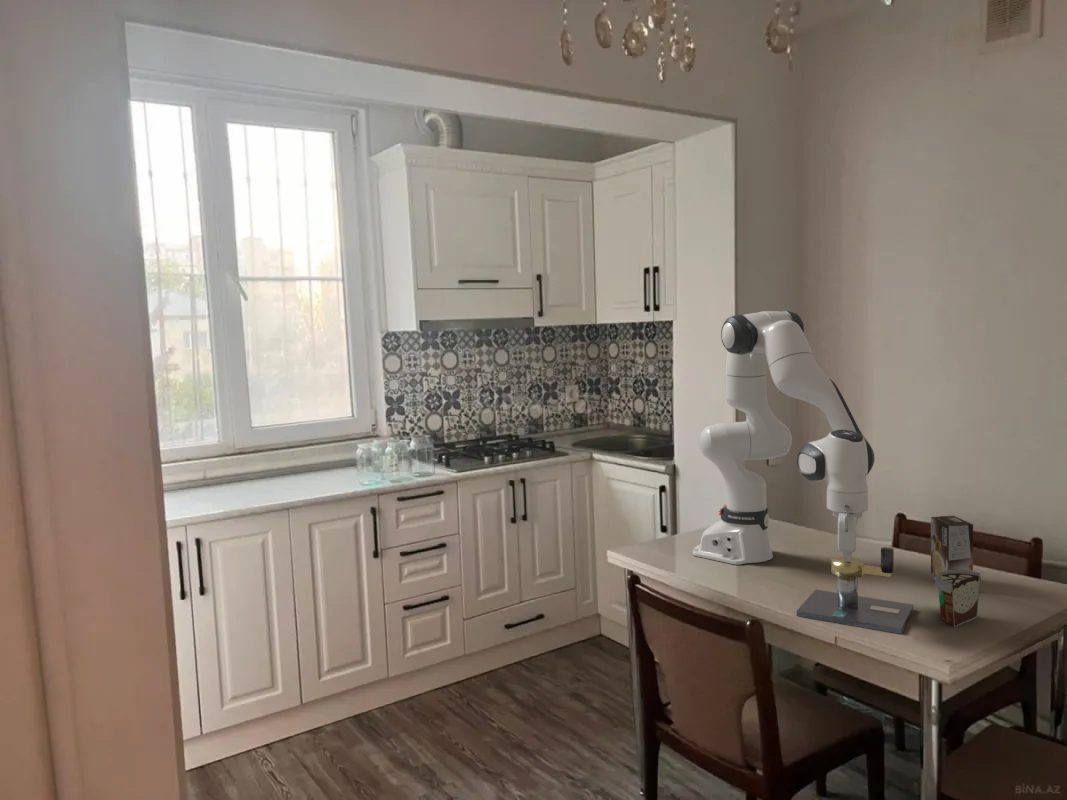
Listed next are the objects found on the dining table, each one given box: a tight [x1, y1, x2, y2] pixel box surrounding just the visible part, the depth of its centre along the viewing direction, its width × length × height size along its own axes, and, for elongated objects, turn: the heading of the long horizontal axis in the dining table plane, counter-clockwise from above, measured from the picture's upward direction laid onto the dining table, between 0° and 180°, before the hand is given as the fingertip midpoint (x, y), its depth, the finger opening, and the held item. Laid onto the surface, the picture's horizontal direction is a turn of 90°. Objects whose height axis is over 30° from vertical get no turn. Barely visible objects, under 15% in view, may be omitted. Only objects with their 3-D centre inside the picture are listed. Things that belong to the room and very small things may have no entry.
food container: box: [934, 570, 982, 628], centre depth 173 cm, size 12×6×10 cm, turn 123°
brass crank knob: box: [830, 546, 895, 578], centre depth 178 cm, size 13×7×7 cm, turn 55°
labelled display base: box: [796, 576, 915, 635], centre depth 178 cm, size 22×16×8 cm
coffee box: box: [930, 515, 974, 582], centre depth 195 cm, size 9×6×16 cm
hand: (847, 560), depth 180 cm, fingers closed
